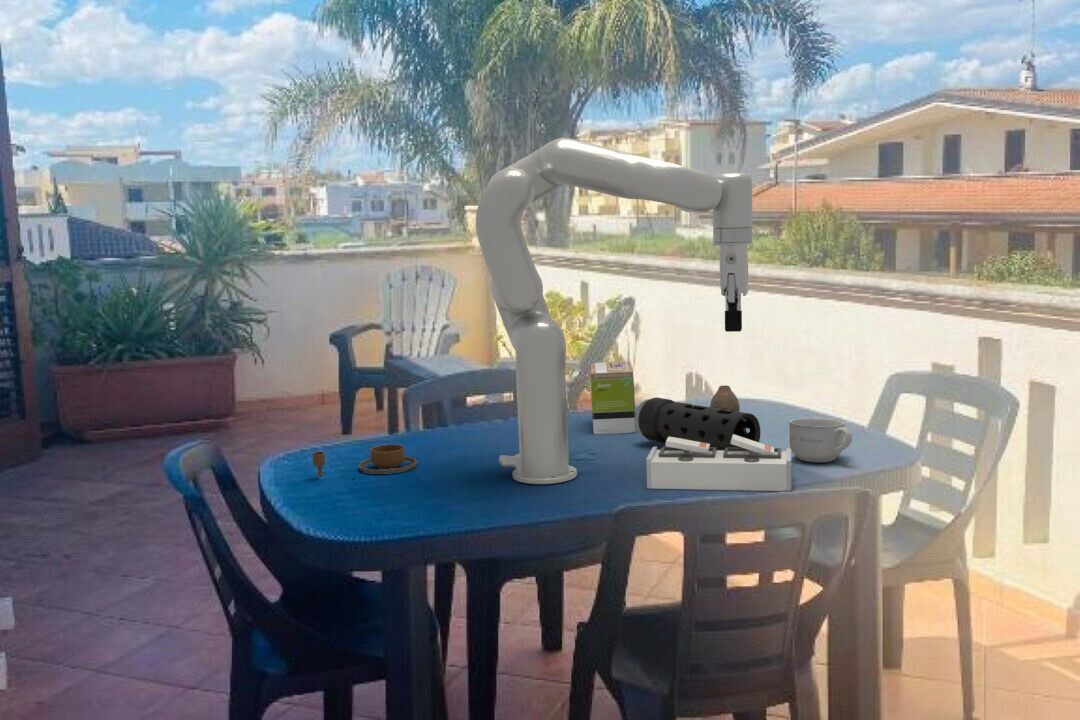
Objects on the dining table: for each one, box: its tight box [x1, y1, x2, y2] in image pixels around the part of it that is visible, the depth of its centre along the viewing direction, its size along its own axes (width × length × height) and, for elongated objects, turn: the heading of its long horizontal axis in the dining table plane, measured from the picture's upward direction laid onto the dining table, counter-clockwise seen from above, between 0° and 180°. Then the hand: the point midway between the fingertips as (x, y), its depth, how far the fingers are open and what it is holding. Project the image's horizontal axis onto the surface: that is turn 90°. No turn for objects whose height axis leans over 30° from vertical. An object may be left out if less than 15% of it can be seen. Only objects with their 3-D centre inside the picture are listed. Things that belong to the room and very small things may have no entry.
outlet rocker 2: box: [730, 434, 775, 455], centre depth 201 cm, size 8×4×2 cm, turn 77°
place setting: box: [312, 444, 418, 478], centre depth 223 cm, size 18×20×6 cm
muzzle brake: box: [634, 397, 761, 451], centre depth 227 cm, size 10×28×10 cm, turn 39°
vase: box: [709, 385, 741, 412], centre depth 254 cm, size 7×7×9 cm
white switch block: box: [645, 446, 792, 492], centre depth 201 cm, size 26×10×6 cm, turn 77°
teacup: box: [788, 417, 853, 463], centre depth 214 cm, size 14×11×8 cm
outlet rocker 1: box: [664, 436, 710, 454], centre depth 204 cm, size 8×4×2 cm, turn 77°
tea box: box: [590, 360, 637, 435], centre depth 254 cm, size 15×10×15 cm, turn 178°
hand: (733, 330), depth 212 cm, fingers closed
